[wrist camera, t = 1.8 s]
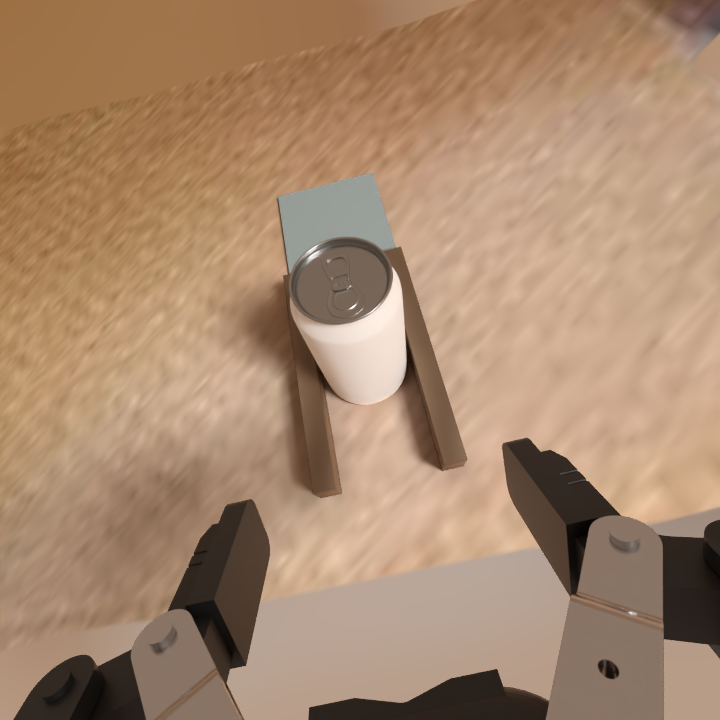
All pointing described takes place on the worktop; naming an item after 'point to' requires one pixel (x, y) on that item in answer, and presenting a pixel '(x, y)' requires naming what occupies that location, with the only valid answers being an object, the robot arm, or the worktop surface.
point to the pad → (334, 215)
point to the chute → (427, 379)
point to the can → (351, 317)
